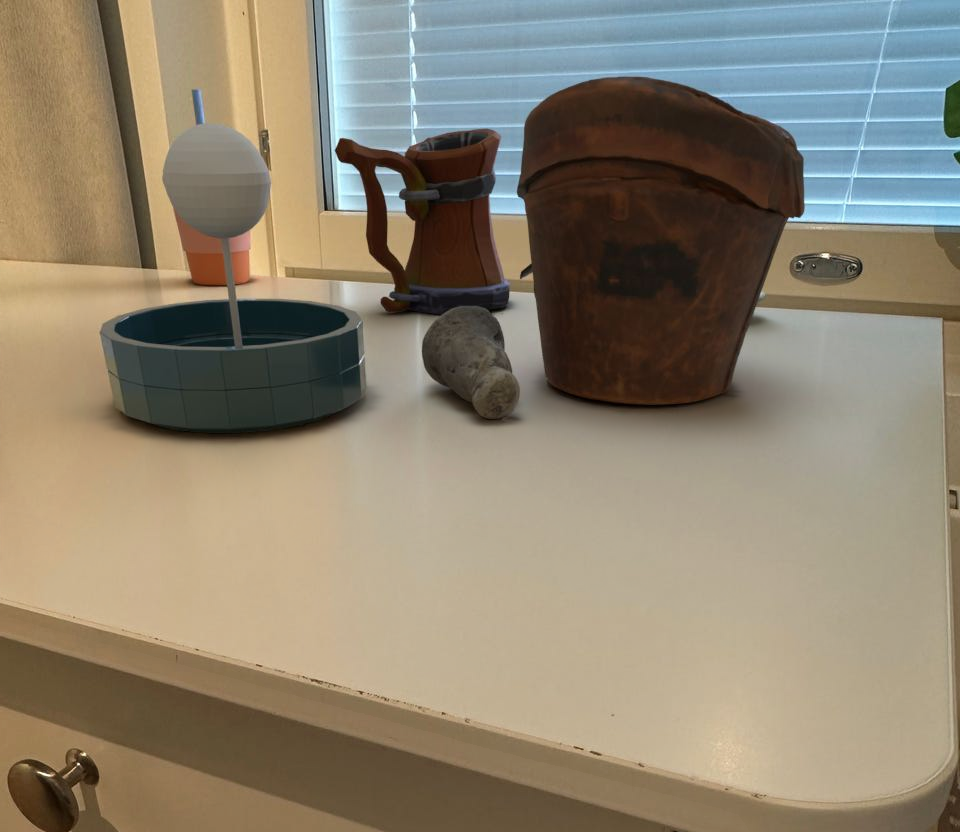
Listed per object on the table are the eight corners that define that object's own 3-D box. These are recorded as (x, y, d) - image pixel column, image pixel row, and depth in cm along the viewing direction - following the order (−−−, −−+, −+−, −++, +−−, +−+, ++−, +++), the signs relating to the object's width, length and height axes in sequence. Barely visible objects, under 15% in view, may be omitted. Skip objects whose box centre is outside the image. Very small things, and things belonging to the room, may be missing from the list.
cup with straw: (202, 273, 102) (176, 90, 93) (276, 276, 101) (257, 90, 92) (162, 286, 95) (130, 88, 85) (242, 289, 93) (217, 88, 84)
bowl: (61, 422, 53) (41, 336, 51) (210, 363, 66) (200, 292, 63) (290, 452, 49) (281, 360, 46) (403, 383, 62) (400, 307, 59)
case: (701, 346, 72) (736, 87, 63) (824, 417, 55) (895, 78, 46) (486, 353, 70) (490, 84, 60) (546, 430, 53) (563, 72, 43)
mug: (389, 330, 76) (380, 130, 69) (315, 310, 84) (300, 128, 76) (535, 305, 87) (542, 129, 79) (458, 290, 94) (458, 127, 86)
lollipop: (176, 394, 56) (130, 122, 49) (245, 375, 61) (214, 122, 53) (243, 410, 53) (205, 123, 46) (311, 389, 58) (287, 123, 50)
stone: (522, 438, 54) (579, 332, 56) (464, 380, 51) (526, 270, 52) (429, 441, 62) (482, 348, 63) (374, 391, 58) (430, 295, 60)
